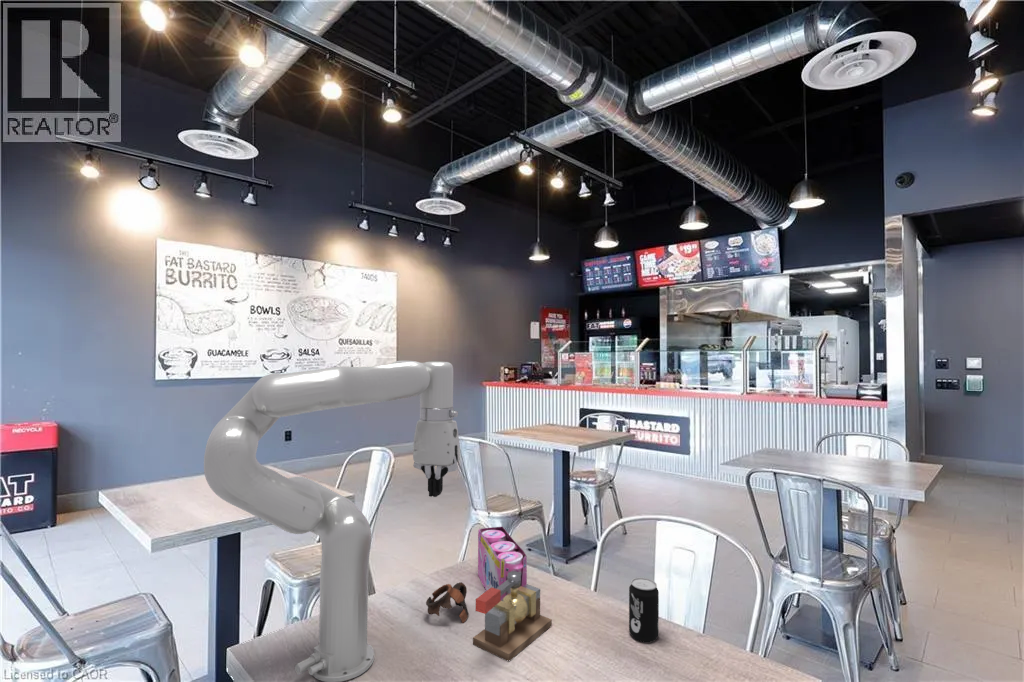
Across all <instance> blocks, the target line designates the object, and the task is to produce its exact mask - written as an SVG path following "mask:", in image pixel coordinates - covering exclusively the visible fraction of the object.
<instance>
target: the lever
mask: <svg viewBox="0 0 1024 682" xmlns="http://www.w3.org/2000/svg"><path fill="white" fill-rule="evenodd" d="M520 586H521V573H520V572H517V571H511V572H509V573H508V580H506V581H505V582H504V583H502V584H501V585H500V586H499V587H497V588H496V589H495V588H492V587H491V588H490V589H488V590H487V591H486V590H485V592H483V593H482V594H480V595H479V596H478V597H477V598H475V612H478V613H481V614H484V615H485V614H486V613H487V612H488V611H490V610H491V609H492V608H493V607H494V606H496V605H497V604H498V603H499V602H500V601H501V596H502V595H503V594H504V593H505V592H506V591H508V590H509V589H510V588H513V589H515V588H519V587H520Z"/></svg>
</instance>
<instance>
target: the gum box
mask: <svg viewBox="0 0 1024 682" xmlns="http://www.w3.org/2000/svg"><path fill="white" fill-rule="evenodd" d="M477 533H478V534H477V542H478V543H477V544H478V545H477V547H478V548H477V552H478V553H477V576H478V578H479V580H480V582H481V584H482V585H483V588H484V587H485V588H484V590H485V589H486V590H485V592H486V591H487V590H488V589H490V588H491V587H492V588H495V589H496V588H497V587H499V586H500V585H501V584H502V583H504V582H505V581H506V580H508V573H509V572H511V571H517V572H520V573H521V586H522V587H523V586H525V585H526V584H528V582H527V581H528V580H527V579H528V573H527V572H528V570H527V569H528V567H527V566H528V565H527V564H528V563H527V558H528V557H527V554H526V552H525V551H524V550H523V548H521V546H520V545H519V544H518V543H517V542H516V540H514V539H513V537H512V536H511V535H510V534H509V533H508V531H507V530H506V529H505V528H504V526H495V527H484V528H483V527H482V528H478V531H477ZM509 593H511V588H510V589H509V590H508V591H506V592H505V593H504V594H503V595H502V596H501V600H503V598H504V597H505V596H506V595H507V594H509Z"/></svg>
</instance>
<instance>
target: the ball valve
mask: <svg viewBox="0 0 1024 682" xmlns="http://www.w3.org/2000/svg"><path fill="white" fill-rule="evenodd" d="M539 598H540V599H541V588H540V587H536V586H533V585H529V584H528V583H527V584H526V585H525V586H523V587H522V586H520V587H519V588H515V589H513V588H511V593H509V594H507V595H506V596H505V597H504V598H503V600H501V601H500V602H499V603H498V604H497V605H496V606H494V607H493V608H492V609H491V610H490V611H488V612H487V613H486V614H484V629H485V630H487V631H489V632H491V633H494V634H496V635H498V636H500V626H501V625H502V624H504V623H505V622H506V621H508V634H510V633H511V632H512V631H514V630H515V624H518V623H520V622H522V621H523V620H524V619H525V617H526V616H528V617H532V616H534V615H535V614H536V600H537V599H539Z"/></svg>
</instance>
